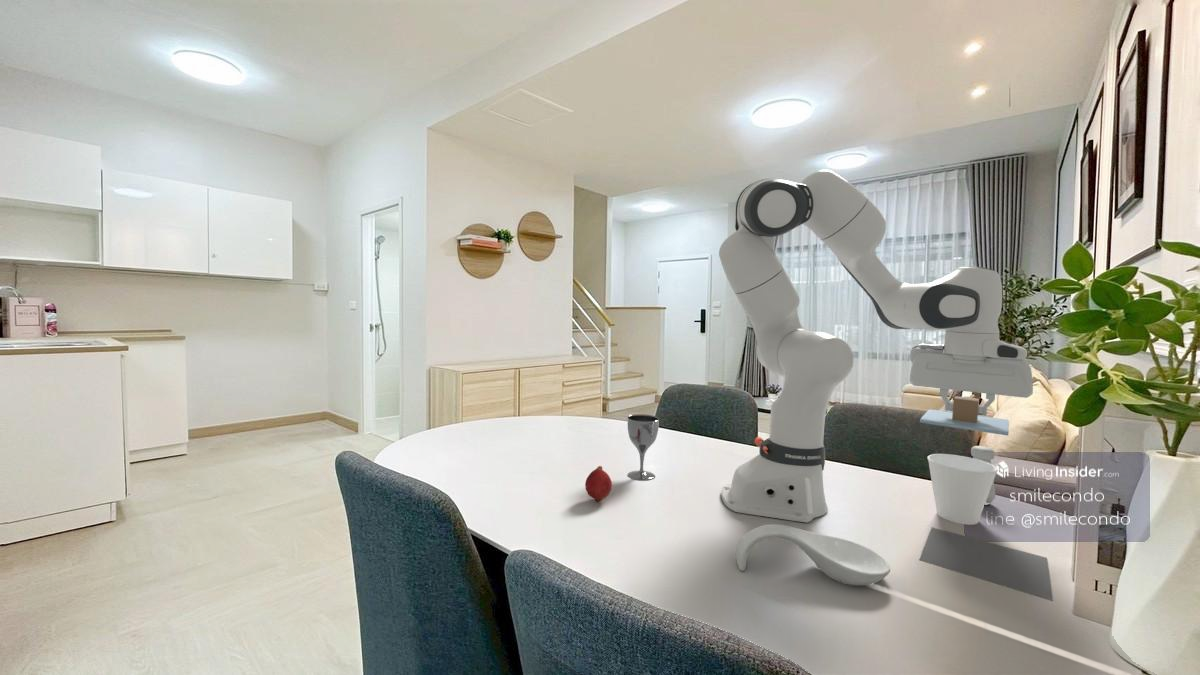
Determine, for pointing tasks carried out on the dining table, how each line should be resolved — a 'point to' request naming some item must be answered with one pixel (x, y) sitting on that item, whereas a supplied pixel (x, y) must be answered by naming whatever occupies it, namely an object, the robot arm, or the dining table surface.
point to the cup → (960, 486)
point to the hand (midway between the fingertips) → (965, 412)
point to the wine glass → (642, 440)
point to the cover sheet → (967, 425)
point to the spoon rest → (823, 554)
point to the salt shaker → (986, 456)
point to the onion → (598, 484)
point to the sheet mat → (989, 562)
